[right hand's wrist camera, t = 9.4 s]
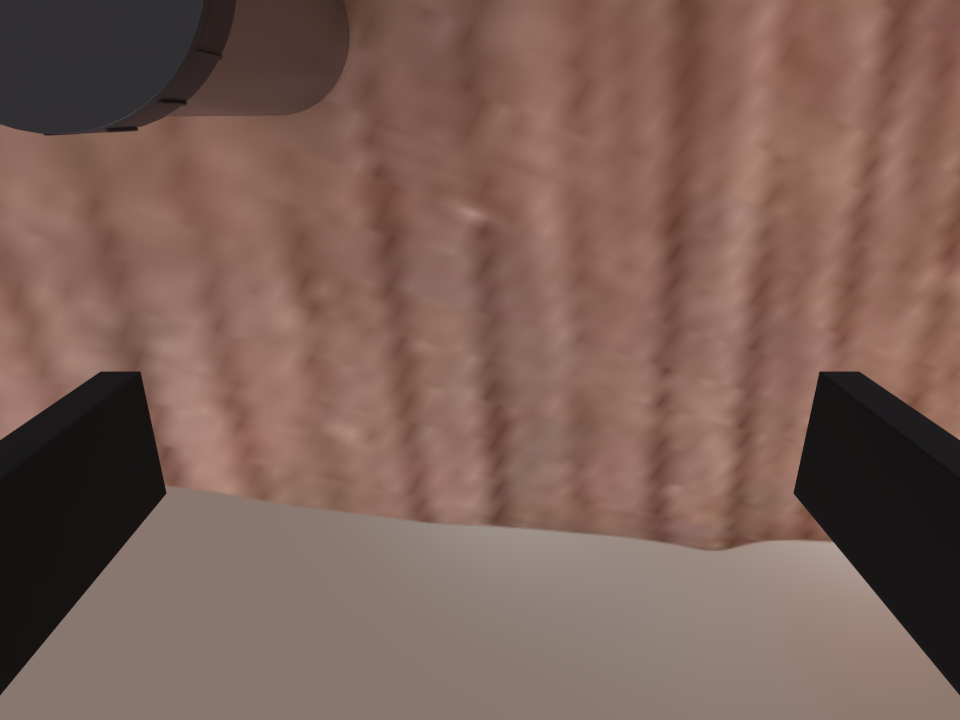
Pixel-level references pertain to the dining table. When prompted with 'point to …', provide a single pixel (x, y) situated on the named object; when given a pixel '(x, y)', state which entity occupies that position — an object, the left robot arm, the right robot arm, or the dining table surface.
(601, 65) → the dining table surface
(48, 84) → the lid
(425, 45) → the dining table surface
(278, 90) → the jar
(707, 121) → the dining table surface
